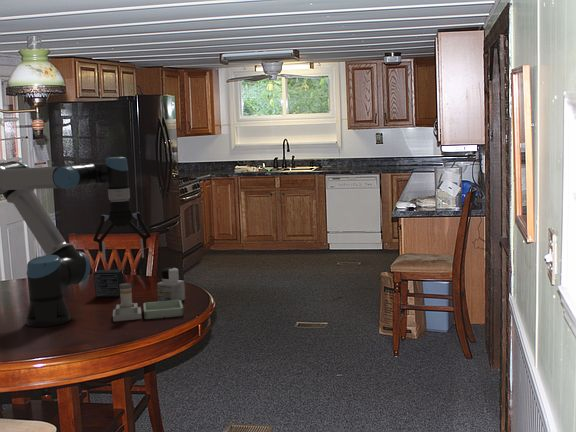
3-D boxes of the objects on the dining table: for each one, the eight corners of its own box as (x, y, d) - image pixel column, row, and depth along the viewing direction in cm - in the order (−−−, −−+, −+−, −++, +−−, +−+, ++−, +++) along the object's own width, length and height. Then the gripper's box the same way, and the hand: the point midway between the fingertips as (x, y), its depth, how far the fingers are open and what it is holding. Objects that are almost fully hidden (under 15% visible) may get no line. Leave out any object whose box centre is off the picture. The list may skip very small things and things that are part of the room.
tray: (144, 319, 277) (144, 311, 277) (143, 310, 291) (143, 302, 291) (183, 315, 280) (183, 308, 280) (181, 306, 294) (180, 299, 293)
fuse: (121, 313, 279) (119, 286, 278) (121, 310, 284) (119, 283, 282) (133, 312, 280) (131, 285, 279) (132, 309, 284) (131, 282, 283)
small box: (125, 293, 320) (123, 268, 319) (120, 297, 314) (118, 272, 313) (100, 294, 322) (98, 269, 320) (95, 298, 315) (93, 272, 314)
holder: (113, 321, 276) (112, 310, 276) (113, 314, 286) (112, 304, 286) (141, 318, 278) (140, 308, 278) (141, 312, 288) (140, 301, 287)
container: (157, 302, 302) (155, 269, 301) (169, 298, 309) (167, 266, 307) (173, 304, 299) (171, 271, 297) (185, 299, 306) (183, 267, 304)
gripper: (82, 203, 271) (87, 263, 273) (155, 199, 275) (159, 257, 278) (84, 201, 278) (88, 259, 281) (154, 197, 283) (158, 254, 285)
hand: (123, 258), depth 279 cm, fingers open, 13 cm apart
